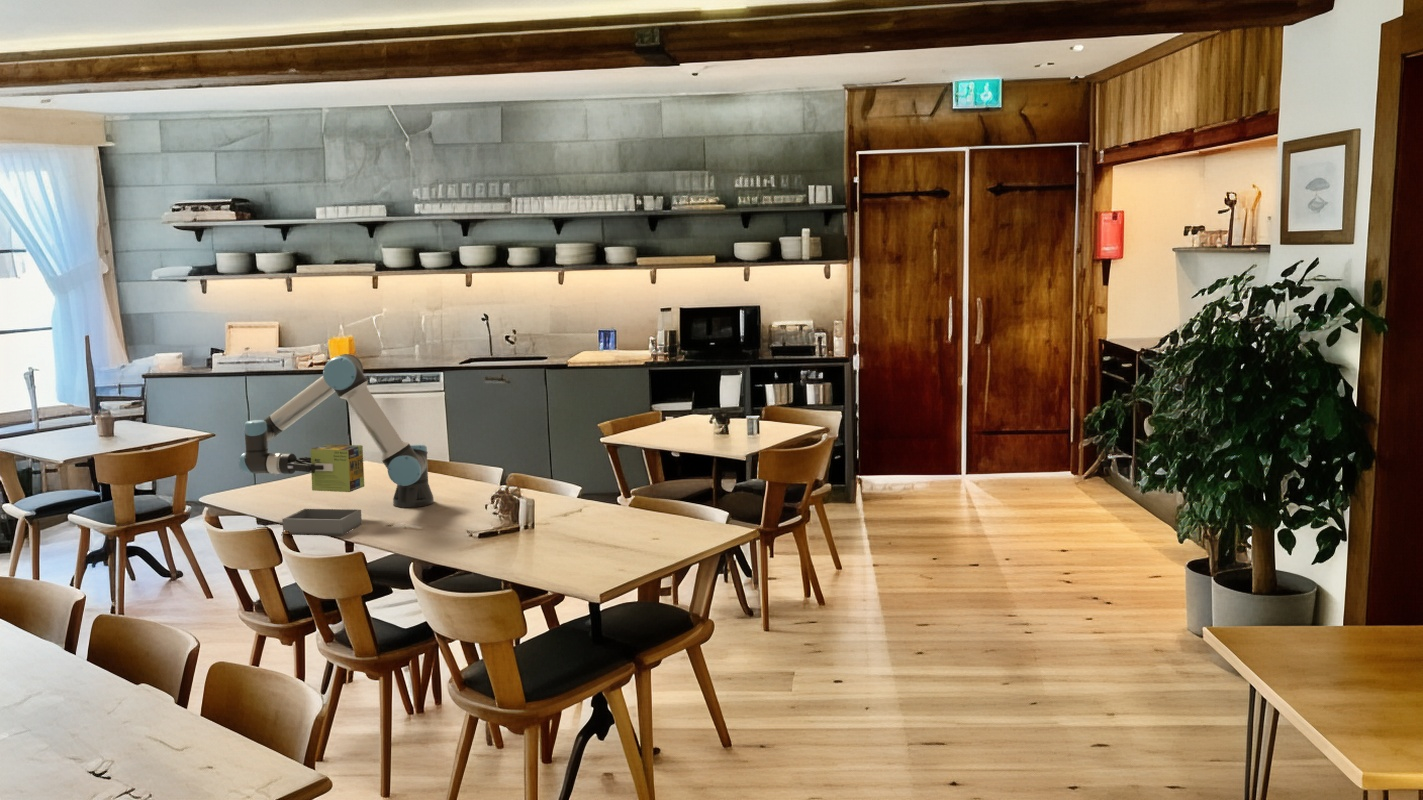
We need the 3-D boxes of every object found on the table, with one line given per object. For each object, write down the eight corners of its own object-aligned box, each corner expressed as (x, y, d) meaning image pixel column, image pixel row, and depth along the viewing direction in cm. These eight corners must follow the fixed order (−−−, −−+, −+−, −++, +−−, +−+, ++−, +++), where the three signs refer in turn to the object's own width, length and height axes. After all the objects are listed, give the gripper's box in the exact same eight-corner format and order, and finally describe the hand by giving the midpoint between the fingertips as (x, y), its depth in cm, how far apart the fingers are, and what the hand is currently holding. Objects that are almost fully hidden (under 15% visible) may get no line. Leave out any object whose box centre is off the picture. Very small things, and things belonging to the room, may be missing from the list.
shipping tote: (361, 524, 384) (361, 509, 383) (341, 535, 368) (341, 520, 367) (305, 523, 386) (304, 508, 385) (283, 534, 370) (282, 519, 369)
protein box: (350, 492, 387) (348, 449, 385) (311, 490, 390) (309, 448, 388) (365, 486, 397) (363, 445, 395) (327, 485, 400) (325, 443, 398)
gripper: (298, 467, 407) (354, 468, 404) (267, 479, 383) (326, 480, 381) (297, 448, 406) (353, 448, 403) (265, 459, 382) (324, 459, 380)
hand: (340, 464), depth 392 cm, fingers closed on protein box, 11 cm apart
